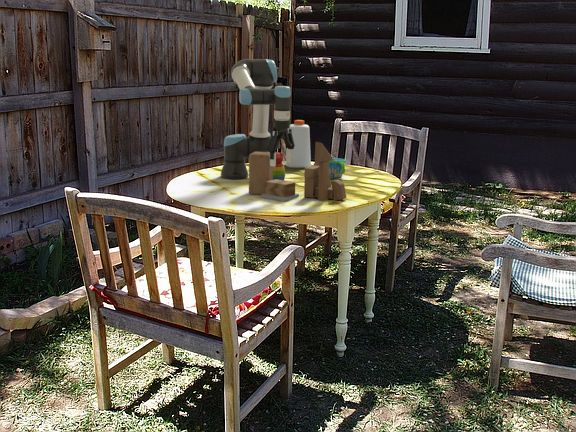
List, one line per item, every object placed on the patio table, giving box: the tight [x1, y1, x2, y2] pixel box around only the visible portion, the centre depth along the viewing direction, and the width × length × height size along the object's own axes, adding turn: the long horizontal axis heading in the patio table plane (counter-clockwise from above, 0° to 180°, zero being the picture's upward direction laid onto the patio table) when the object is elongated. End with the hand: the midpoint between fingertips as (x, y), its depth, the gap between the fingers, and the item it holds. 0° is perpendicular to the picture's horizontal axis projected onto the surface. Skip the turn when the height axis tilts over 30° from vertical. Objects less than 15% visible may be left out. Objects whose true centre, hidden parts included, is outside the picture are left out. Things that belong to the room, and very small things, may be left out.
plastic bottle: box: [285, 119, 312, 169], centre depth 408 cm, size 15×15×28 cm
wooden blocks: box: [303, 141, 348, 202], centre depth 323 cm, size 24×20×28 cm
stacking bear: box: [273, 151, 286, 181], centre depth 348 cm, size 11×10×18 cm
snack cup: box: [329, 157, 346, 179], centre depth 377 cm, size 16×10×10 cm
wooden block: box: [248, 152, 273, 196], centre depth 329 cm, size 10×10×20 cm
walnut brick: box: [265, 179, 296, 197], centre depth 322 cm, size 12×8×6 cm, turn 51°
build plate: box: [261, 192, 300, 202], centre depth 323 cm, size 13×13×2 cm
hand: (280, 164), depth 319 cm, fingers open, 13 cm apart
